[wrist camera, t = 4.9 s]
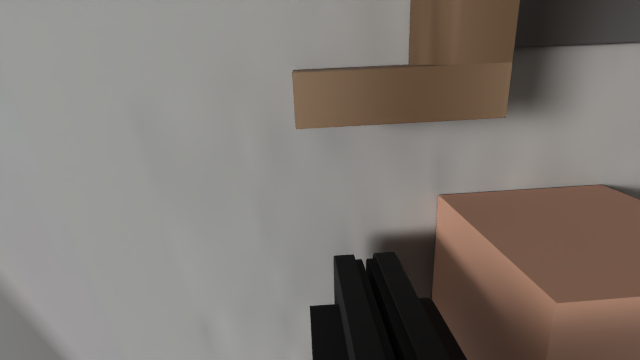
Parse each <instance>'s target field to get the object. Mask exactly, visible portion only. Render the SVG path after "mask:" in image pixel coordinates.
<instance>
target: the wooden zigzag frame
mask: <svg viewBox="0 0 640 360" xmlns="http://www.w3.org/2000/svg"><path fill="white" fill-rule="evenodd" d="M623 42H640V0H411V7H410V38H409V65H389V66H367V67H346V68H325V69H304V70H293V72H292V78H293V93H294V108H295V123H296V129H307V128H325V127H343V126H361V125H379V124H397V123H416V122H434V121H452V120H470V119H488V118H506V113H507V105H508V96H509V88H510V79H511V71H512V62H513V54H514V47H536V46H558V45H580V44H601V43H623Z"/></svg>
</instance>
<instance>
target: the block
mask: <svg viewBox="0 0 640 360" xmlns="http://www.w3.org/2000/svg"><path fill="white" fill-rule="evenodd" d="M432 301H433V302H434V303H435V305H436V307H437V308H438V310H439V312H440V314H441V315H442V317H443V319H444V320H445V322H446V324H447V326H448V327H449V329H450V331H451V332H452V334H453V336H454V338H455V339H456V341H457V343H458V344H459V346H460V348H461V350H462V351H463V353H464V355H465V356H466V358H467V360H640V200H639V199H637V198H634V197H631V196H629V195H626V194H624V193H621V192H619V191H616V190H614V189H611V188H609V187H606V186H604V185H589V186H573V187H558V188H542V189H526V190H510V191H494V192H478V193H463V194H447V195H439V197H438V212H437V227H436V242H435V257H434V272H433V288H432Z"/></svg>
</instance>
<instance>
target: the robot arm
mask: <svg viewBox="0 0 640 360" xmlns="http://www.w3.org/2000/svg"><path fill="white" fill-rule="evenodd" d="M334 295H335V304H333V305H318V306H310V316H311V336H312V355H313V360H467V358H466V356H465V355H464V353H463V351H462V350H461V348H460V346H459V344H458V343H457V341H456V339H455V338H454V336H453V334H452V332H451V331H450V329H449V327H448V326H447V324H446V322H445V320H444V319H443V317H442V315H441V314H440V312H439V310H438V308H437V307H436V305H435V303H434V302H433V301H432V299H430V298H418V296H417V294H416V292H415V290H414V288H413V287H412V285H411V283H410V281H409V279H408V277H407V275H406V273H405V271H404V270H403V268H402V266H401V264H400V262H399V260H398V258H397V256H396V254H395V253H394V252H386V253H374V254H373V259H367V261H366V270H365V267H364V264H363V262H362V259H357V260H355V257H354V255H338V256H334Z"/></svg>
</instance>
